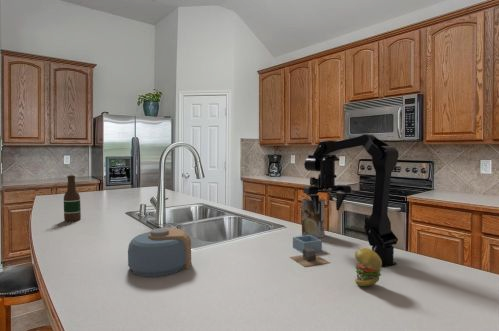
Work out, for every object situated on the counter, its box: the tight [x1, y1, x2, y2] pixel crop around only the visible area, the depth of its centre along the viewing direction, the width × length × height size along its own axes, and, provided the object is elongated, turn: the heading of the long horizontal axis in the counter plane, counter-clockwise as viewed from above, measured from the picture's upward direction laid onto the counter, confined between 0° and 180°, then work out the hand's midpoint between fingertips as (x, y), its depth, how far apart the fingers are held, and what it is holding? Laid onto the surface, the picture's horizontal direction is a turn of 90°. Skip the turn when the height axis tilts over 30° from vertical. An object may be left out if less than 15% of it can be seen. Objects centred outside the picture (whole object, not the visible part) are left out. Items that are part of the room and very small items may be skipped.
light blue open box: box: [292, 235, 323, 254], centre depth 123 cm, size 8×8×4 cm
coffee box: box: [301, 197, 326, 239], centre depth 143 cm, size 9×6×16 cm
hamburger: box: [354, 247, 382, 287], centre depth 91 cm, size 8×7×12 cm
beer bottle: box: [63, 174, 82, 223], centre depth 170 cm, size 8×8×24 cm
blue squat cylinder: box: [127, 227, 192, 277], centre depth 106 cm, size 19×20×12 cm
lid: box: [289, 248, 331, 268], centre depth 111 cm, size 10×10×4 cm
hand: (327, 210), depth 129 cm, fingers open, 9 cm apart
